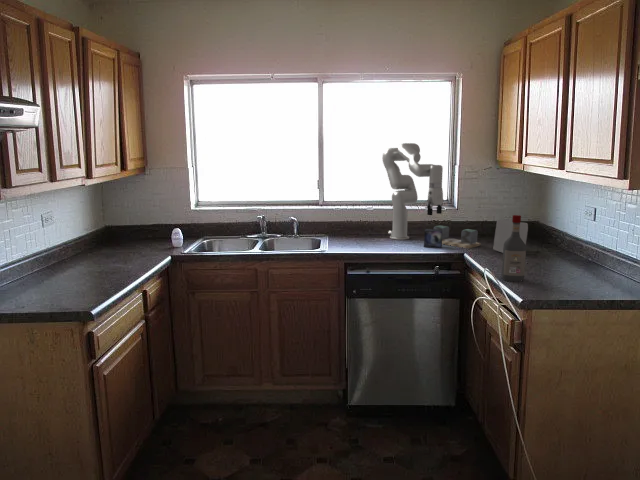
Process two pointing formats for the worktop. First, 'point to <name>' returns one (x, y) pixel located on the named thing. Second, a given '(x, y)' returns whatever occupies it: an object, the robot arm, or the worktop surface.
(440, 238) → the small box
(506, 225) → the electrical switch box
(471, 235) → the rail board
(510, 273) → the liquor
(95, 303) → the worktop surface
